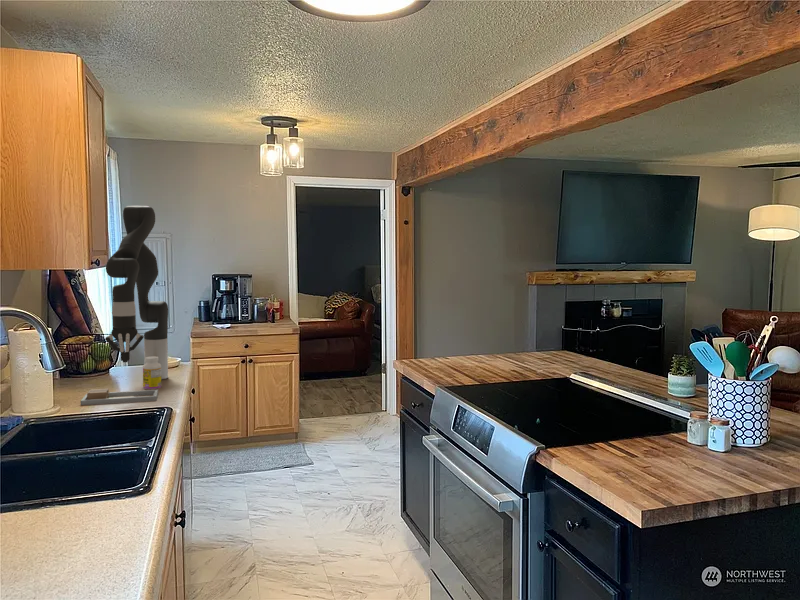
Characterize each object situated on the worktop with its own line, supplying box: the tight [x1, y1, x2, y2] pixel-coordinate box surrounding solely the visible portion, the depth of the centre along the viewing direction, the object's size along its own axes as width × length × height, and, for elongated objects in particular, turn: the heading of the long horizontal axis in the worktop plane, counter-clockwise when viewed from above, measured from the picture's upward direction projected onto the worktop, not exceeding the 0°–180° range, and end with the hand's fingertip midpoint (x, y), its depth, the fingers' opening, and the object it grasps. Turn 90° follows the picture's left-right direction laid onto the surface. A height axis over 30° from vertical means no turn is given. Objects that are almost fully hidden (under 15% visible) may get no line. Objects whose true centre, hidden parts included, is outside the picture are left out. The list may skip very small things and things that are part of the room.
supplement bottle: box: [142, 356, 162, 390], centre depth 229 cm, size 7×7×13 cm
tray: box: [80, 389, 159, 406], centre depth 210 cm, size 11×24×2 cm, turn 109°
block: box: [86, 388, 110, 400], centre depth 207 cm, size 6×6×4 cm
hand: (125, 362), depth 209 cm, fingers closed
